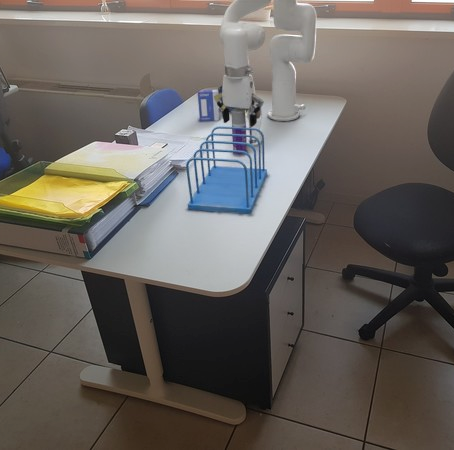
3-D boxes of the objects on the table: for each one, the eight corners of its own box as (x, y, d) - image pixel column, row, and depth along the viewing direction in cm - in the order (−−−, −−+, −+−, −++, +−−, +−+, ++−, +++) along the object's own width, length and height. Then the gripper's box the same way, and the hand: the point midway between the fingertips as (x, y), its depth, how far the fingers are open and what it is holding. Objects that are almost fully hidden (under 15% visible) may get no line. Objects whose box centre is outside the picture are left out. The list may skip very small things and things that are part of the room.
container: (245, 156, 156) (243, 113, 148) (231, 155, 157) (229, 112, 149) (248, 151, 160) (247, 108, 152) (235, 150, 161) (233, 107, 153)
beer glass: (265, 140, 169) (264, 99, 161) (258, 147, 163) (257, 105, 155) (247, 138, 171) (245, 97, 163) (240, 144, 165) (238, 103, 157)
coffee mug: (229, 113, 195) (228, 91, 190) (215, 109, 200) (213, 87, 195) (249, 107, 203) (248, 85, 198) (234, 103, 208) (233, 81, 203)
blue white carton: (199, 121, 187) (197, 91, 181) (199, 119, 189) (197, 89, 183) (219, 120, 188) (217, 90, 182) (219, 118, 190) (217, 88, 184)
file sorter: (213, 171, 146) (209, 124, 138) (267, 175, 144) (267, 127, 136) (187, 210, 125) (182, 157, 117) (250, 215, 123) (249, 161, 115)
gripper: (267, 70, 145) (268, 122, 154) (218, 65, 150) (221, 116, 160) (257, 76, 139) (259, 130, 148) (206, 71, 144) (211, 124, 154)
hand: (239, 123), depth 154 cm, fingers open, 9 cm apart
